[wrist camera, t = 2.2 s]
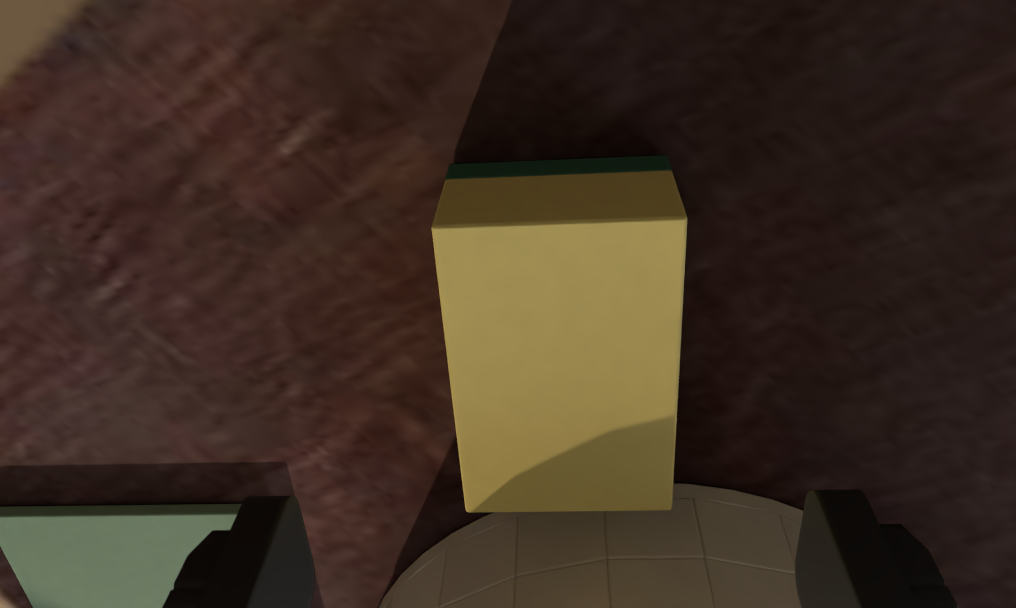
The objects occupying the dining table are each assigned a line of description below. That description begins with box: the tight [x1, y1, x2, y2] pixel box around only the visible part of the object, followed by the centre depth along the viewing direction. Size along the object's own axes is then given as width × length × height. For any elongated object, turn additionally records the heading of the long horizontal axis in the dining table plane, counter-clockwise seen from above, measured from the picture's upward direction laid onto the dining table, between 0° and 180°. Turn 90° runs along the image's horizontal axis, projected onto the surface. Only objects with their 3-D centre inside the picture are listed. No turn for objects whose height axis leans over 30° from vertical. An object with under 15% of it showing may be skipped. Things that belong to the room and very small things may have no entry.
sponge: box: [432, 155, 687, 513], centre depth 18 cm, size 7×4×3 cm, turn 4°
